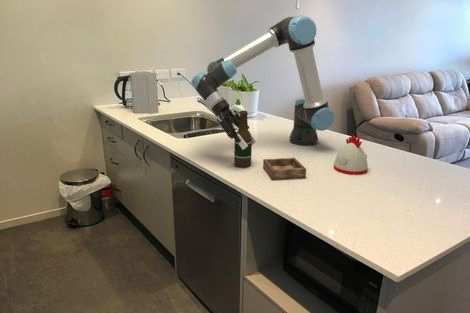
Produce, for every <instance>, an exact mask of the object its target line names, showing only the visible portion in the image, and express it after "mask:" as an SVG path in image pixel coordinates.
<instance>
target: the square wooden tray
mask: <svg viewBox="0 0 470 313" xmlns="http://www.w3.org/2000/svg"><path fill="white" fill-rule="evenodd" d="M262 162H263V163H262V168H263V170H264V172H265V173H266V174H267V175H268V177H269V179H270V180H271V181H280V180H281V181H282V180H283V181H284V180H296V179H297V180H299V179H300V180H301V179H306V178H307V177H306V176H307V168H306V167H305V166H304V165H303V164H302V163H301V162H300V161H299V160H298V159H296V158H295V157H280V158H263V160H262Z"/></svg>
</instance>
